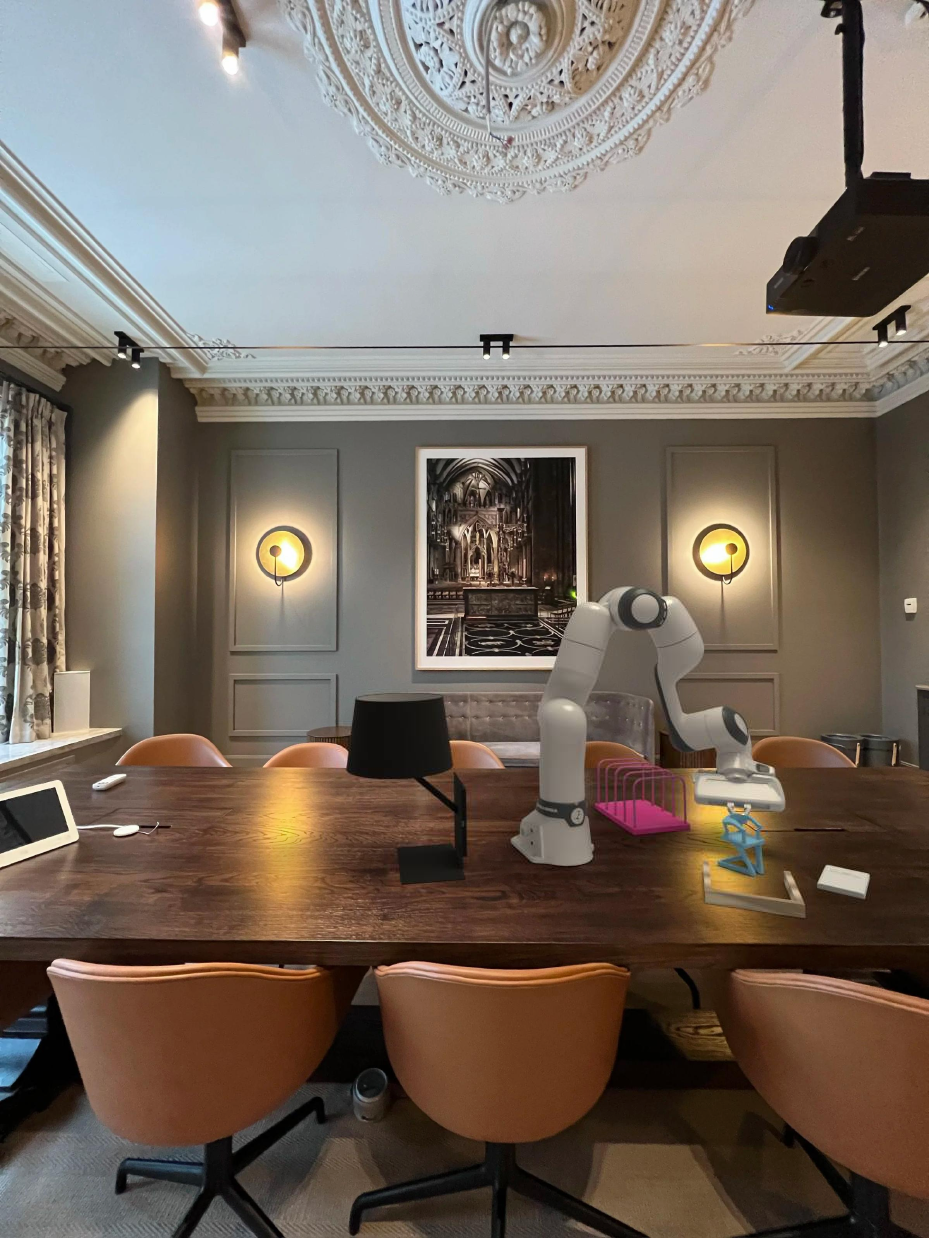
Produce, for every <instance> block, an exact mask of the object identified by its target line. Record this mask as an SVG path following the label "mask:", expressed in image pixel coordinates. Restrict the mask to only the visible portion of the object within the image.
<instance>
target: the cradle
mask: <svg viewBox="0 0 929 1238" xmlns="http://www.w3.org/2000/svg"><path fill="white" fill-rule="evenodd" d="M702 874H703V875H702V876H703V887H704V888H703V889H704V902H705V904H709V905H715V906H723V907H729V908H730V907H731V908H735V909H741V910H743V909H744V910H748V911H755V912H761V913H768V914H774V915H775V914H776V915H781V916H787V917H796V918H801V919H806V904H805V902H804V899H803V897H802V895H801V893H800V891H799V888H798V886H797V884H796V882H795V879H794V878H793V877H794V876H793V875H792V873H791V871H790V870H789V871H788V870H787V871H786V870H783V882H784V883H783V884H784V886H785V888H786V891H787V893H788V895H789V898H790V899H783V898H777V897H769V896H764V895H758V894H750V893H743V892H735V891H730V890H729V891H728V890H722V889H715V888H712V883H711V872H710V862H709V861H708V860H702Z"/></svg>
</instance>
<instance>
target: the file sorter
mask: <svg viewBox="0 0 929 1238" xmlns="http://www.w3.org/2000/svg"><path fill="white" fill-rule="evenodd" d="M617 761H638V762H617ZM604 762H614V763H610V764H609V765H608V766H607V767H606V768H605V774H604V775H605V777H604V778H605V779H604V780H605V784H604V787H605V802H601V800H600V799H601V798H600V797H601V796H600V792H601V790H600V789H601V788H600V783H601V780H600V770H601V769H600V767H601V766H602V765H601V764H603V763H604ZM625 765H626V766H625ZM628 765H629V766H628ZM614 766H619V767H618V768H617V769H616V771H615V773H614V789H613V790H614V794H613V795H614V801H609V799H608V798H609V796H608V794H609V793H608V774H609V773H608V772H609V769H610V768H611V767H614ZM596 768H597V769H596V770H597V776H596V777H597V782H596V783H597V784H596V785H597V802H596V803H595V802H594V809H595V810H597V811H598V812H600V813H601V814H602V815H604V816H606V818H608V819H609V820H611V821H613V822H614V823H615V824H617V825H619V826H620V827H621V828H623V829H624V830H626V831H627V832H628V833H630V834H632V835H634V836H637V835H646V834H647V835H648V834H657V833H667V832H678V831H688V830H689V831H690V830H691V824H690V823H689V822H688V821H687V789H686V787H687V786H686V782H685V780H684V778H683V777H681V776H680V775H674V774H673V771H671V770H668V769H663V768H662V767H660V766H657V765H655V766H654V765H652V764H651V763H649V762H646V761H644V762H643V761H642V760H641V759H639V758H635V757H634V758H605V759H602V760H600V761H599V762H598V765H597V767H596ZM623 769H641V770H640V771H639V770H638V771H637V770H635V771H630V772H628V773H626V774H625V775H624V776H623V779H622V799H623V800H619V801H617V800H618V799H617V797H618V796H617V795H618V794H617V793H618V790H617V787H618V784H617V783H618V773H619V771H621V770H623ZM645 769H650V770H645ZM665 772H667V773H669V775H665ZM649 773H650V774H651V776H650V777H648V776H647V777H645V774H649ZM654 773H661V776H655V774H654ZM635 774H636V775H638V774H642V775H641V777H640V778H637V779H636V780H635V781H634V782H633V785H632V800H630V799H629V800H626V799H627V798H626V779H627V778H628V776H630V775H635ZM677 778H678V779H680V780H681V782H682V788H683V789H682V790H683V791H682V793H683V819H682V818H680V817H678V816H677V815H676V803H675V802H676V799H675V798H676V797H675V793H676V792H675V779H677ZM660 779H661V780H662V781H661V782H662V784H661V787H662V788H661V807H659V806H658V805H656V804H655V783H654V781H655V780H660ZM665 779H671V791H672V792H671V793H672V794H671V796H672V797H671V799H672V801H671V803H672V805H671V806H672V813H671V812H669V811H667V810H665V790H666V789H665ZM648 780H649V781H650V780H651V802H650V801H648V800H646V799H645V781H648ZM639 782H642V789H641V791H642V793H641V794H642V796H641V798H642V799H636V786H637V784H638V783H639Z"/></svg>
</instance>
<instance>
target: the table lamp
mask: <svg viewBox="0 0 929 1238" xmlns="http://www.w3.org/2000/svg"><path fill="white" fill-rule="evenodd" d="M447 722H448V720H447V714H446V707H445V700H444V695H442V694H439V693H431V692H430V693H429V692H390V693H389V692H387V693H374V694H366V695H365V694H364V695H359V696H356V697H355V699H354V707H353V714H352V723H351V728H350V729H351V730H350V738H349V745H348V752H347V758H346V759H347V760H346V768H345V771H346V773H348V774H350V775H351V776H355V777H358V778H363V779H373V780H408V779H409V780H410V779H413V780H415V781H416V782H417V783H418V784H419V785H421V786H422V787H423V788H424V789H426V791H428V792H429V793H431V794H432V795H433V796H434V797H435V798H437V799H438V800H439V802H441V803H442V804H444V805H445V806H446V807H447V808H449V809H450V810H451V811H452V812H453V815H454V816H453V817H454V818H453V819H454V820H453V821H454V830H453V831H454V834H453V835H454V845H453V843H439V844H436V843H435V844H421V845H411V846H410V845H408V846H399V847H398V846H397V848H396V849H397V851H396V852H397V859H398V865H399V867H398V868H399V876H400V884H401V886H404V885H405V886H406V885H416V884H428V883H429V884H430V883H441V882H451V881H453V882H454V881H462V880H463V881H464V880H467V878H466V874H465V872H464V858H467V857H468V829H467V824H468V823H467V822H468V821H467V815H468V813H467V788H466V787H465V785H464V784H463V782H462V780H461V779H460V778H459V776H458V774H457V773H456V771H453V801H452V800H451V799H450V798H449V797H447V796H446V795H445V794H443V792H441V791H440V790H439V789H437V788H436V787H435V786H434V785H433V784H431V783H430V782H429V781H428V780H427V779H425V778H427V777H431V776H437V775H440V774H443V773H446V772H448V771H450V770H452V768H453V767H454V761H453V756H452V755H453V754H452V747H451V742H450V741H451V740H450V736H449V735H450V734H449V727H448V723H447Z"/></svg>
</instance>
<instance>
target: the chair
mask: <svg viewBox="0 0 929 1238" xmlns="http://www.w3.org/2000/svg"><path fill="white" fill-rule="evenodd" d="M743 814H744V813H737V812H735V813H732V814H730V813H729V814H727V815H726V816H725V817H724V818H723V819H722V821H721V822H722V826H723V827H724V834H720V839H721V840H723V841H725V842H728V843H729V844H730V845H731V846H733V847H734V848H735V849H736V850H737V851H738V853H739V854H736V855H734V856H729V857H726V858H723V859H722V858H721V859H719V860H717V861H716V862H717V865H718V866H720V867H723V868H725V869H728V870H732V871H736V872H738V873H742V874H745V875H747V876H751V877H753V878H754V877H757V874H756V873H758V874H760V875H764V874H765V872H764V864H763V855H762V854H763V853H762V846H763V845H764V844H765V843H766V841H765V839H764V838H762V837H761V831H762V828H763V827H764V825H762V824H761V823H760V822H758V820H757V819H755V818H754V817H753V816H750V815H749V816H747V815H743ZM737 821H739V823H738V822H737ZM742 821H747V822H748V821H749V822H750V823H752V824H753V825H755V827H757V830H756V832H755V835H752V834H750V833H748V832H747V829H746V828H745V827H744V824H742ZM728 826H732V827H734V828H736V829H737V831H734V832H730V830H729V827H728ZM753 847H754V852H755V859H756V862H754V861H752V860H750V859H749V857H748V855H747V853H746V849H750V848H753ZM739 860H741V861H742V862H743V863H745V866H746V867H747V868H746V867H742V866H740V865H736V864H732V863H731V862H735V861H739Z"/></svg>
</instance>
